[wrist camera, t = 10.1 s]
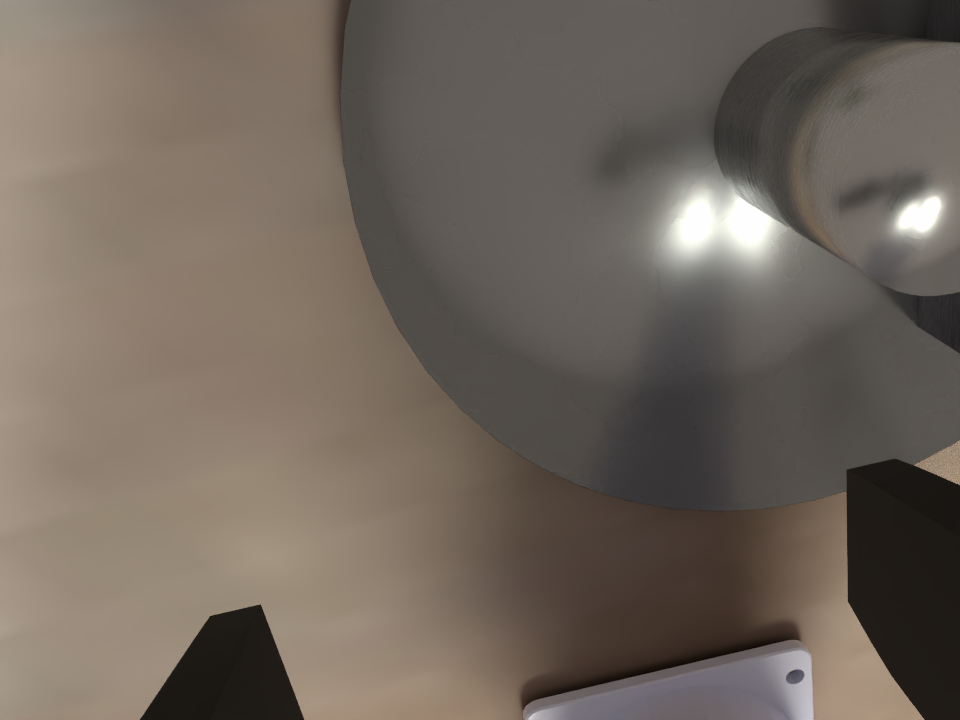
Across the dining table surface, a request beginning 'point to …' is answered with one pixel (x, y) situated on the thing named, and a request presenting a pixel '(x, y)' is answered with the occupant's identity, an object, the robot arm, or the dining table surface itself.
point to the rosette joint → (670, 231)
